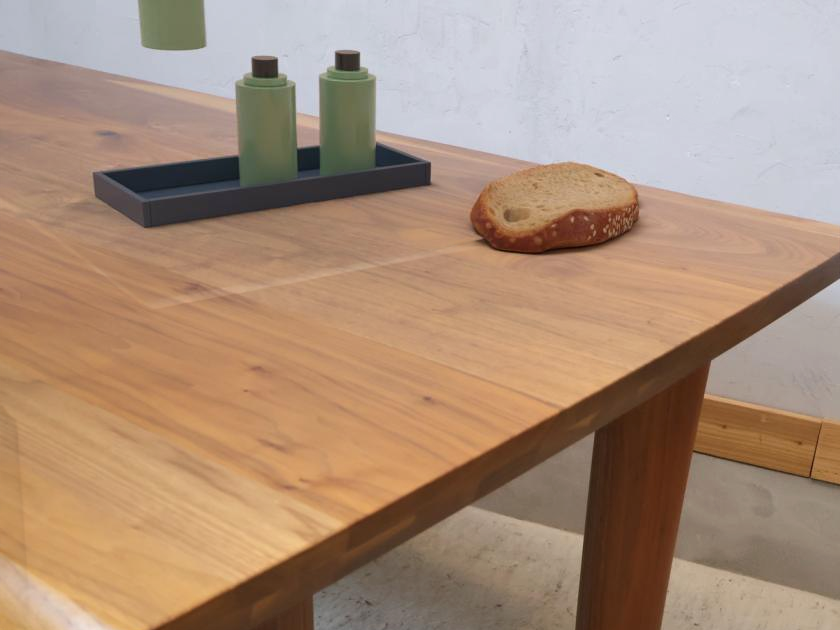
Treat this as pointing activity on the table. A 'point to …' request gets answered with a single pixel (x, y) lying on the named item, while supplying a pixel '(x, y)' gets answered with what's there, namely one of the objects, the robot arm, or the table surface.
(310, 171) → the tray
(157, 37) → the bottle loose
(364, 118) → the bottle far
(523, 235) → the slice of bread
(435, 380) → the table surface
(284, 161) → the bottle mid
